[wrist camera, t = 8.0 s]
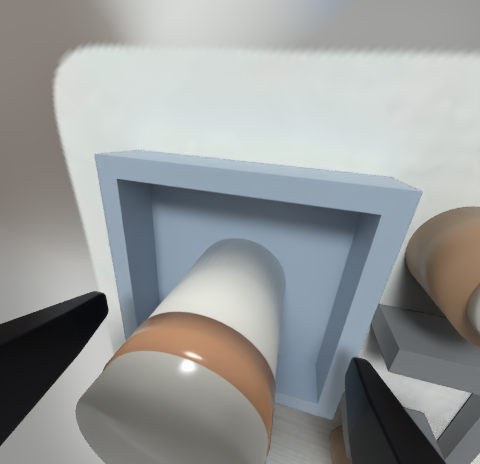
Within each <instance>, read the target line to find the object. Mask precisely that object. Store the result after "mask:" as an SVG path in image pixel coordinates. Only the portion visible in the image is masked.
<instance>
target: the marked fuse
mask: <svg viewBox="0 0 480 464" xmlns="http://www.w3.org/2000/svg"><path fill="white" fill-rule="evenodd" d="M285 287H286V278H285V273H284V271H283V268H282V266H281V264H280V262H279V261H278V259H277V258H276V257H275V256H274V255H273V254H272V253H271V252H270V251H269V250H268V249H267V248H265V247H264V246H262V245H260V244H258V243H256V242H253V241H251V240H247V239H242V238H229V239H224V240H220V241H218V242H215V243H214V244H212V245H211V246H210V247H208V248H207V249H206V250H205V252H204V253H203V254H202V255H201V256H200V258H199V259H198V260H197V261H196V262H195V263H194V265H193V266H192V267H191V268H190V269H189V271H188V272H187V273H186V274H185V275H184V276H183V278H182V279H181V280H180V281H179V282H178V283H177V285H176V286H175V287H174V288H173V289H172V291H171V292H170V293H169V294H168V295H167V296H166V298H165V299H164V300H163V301H162V302H161V304H160V305H159V306H158V307H157V308H156V309H155V311H154V312H153V313H152V314H151V315H150V316H149V318H148V319H146V320H145V321H144V322H143V323H141V324H140V326H139V327H138V328H137V329H136V330H135V331H134V333H133V334H132V335H131V336H130V337H129V338H128V340H127V341H126V342H125V343H124V344H123V345H122V347H121V348H120V349H119V350H118V351H117V352H116V353H115V355H114V356H113V357H112V358H111V359H110V360H109V362H108V363H107V364H106V366H105V367H104V369H103V372H102V373H101V374H100V375H99V377H98V378H97V379H96V380H95V381H94V383H93V384H92V385H91V386H90V387H89V388H88V390H87V391H86V392H85V393H84V395H83V396H82V397H81V398H80V399H79V401H78V403H77V406H76V419H77V423H78V426H79V428H80V431H81V433H82V435H83V436H84V438H85V440H86V441H87V443H88V444H89V445H90V447H91V448H92V449H93V450H94V452H95V453H96V454H97V455H98V456H99V457H100V458H101V459H102V460H103V461H104V462H105V463H106V464H266V457H267V455H268V452H269V449H270V441H271V432H272V422H273V412H274V403H275V393H276V385H275V376H276V367H277V358H278V349H279V340H280V331H281V323H282V314H283V305H284V296H285Z"/></svg>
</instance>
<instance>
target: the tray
mask: <svg viewBox="0 0 480 464" xmlns="http://www.w3.org/2000/svg"><path fill="white" fill-rule="evenodd" d="M95 160H96V166H97V172H98V178H99V184H100V190H101V196H102V202H103V208H104V214H105V220H106V226H107V231H108V237H109V243H110V249H111V255H112V261H113V267H114V273H115V279H116V285H117V291H118V297H119V303H120V309H121V314H122V320H123V326H124V332H125V338H126V341H127V340H128V338H129V337H130V336H131V335H132V334H133V333H134V331H135V330H136V329H137V328H138V327H139V326H140V324H141V323H143V322H144V321H145V320H146V319H148V318H149V316H150V315H151V314H152V313H153V312H154V311H155V309H156V308H157V307H158V306H159V305H160V304H161V302H162V301H163V300H164V299H165V298H166V296H167V295H168V294H169V293H170V292H171V291H172V289H173V288H174V287H175V286H176V285H177V283H178V282H179V281H180V280H181V279H182V278H183V276H184V275H185V274H186V273H187V272H188V271H189V269H190V268H191V267H192V266H193V265H194V263H195V262H196V261H197V260H198V259H199V258H200V256H201V255H202V254H203V253H204V252H205V250H206V249H207V248H208V247H210V246H211V245H212V244H214V243H215V242H218V241H220V240H224V239H229V238H242V239H247V240H251V241H253V242H256V243H258V244H260V245H262V246H264V247H265V248H267V249H268V250H269V251H270V252H271V253H272V254H273V255H274V256H275V257H276V258H277V259H278V261H279V262H280V264H281V266H282V268H283V271H284V273H285V278H286V287H285V296H284V305H283V314H282V323H281V331H280V340H279V349H278V358H277V367H276V376H275V385H276V393H275V403H277V404H280V405H283V406H287V407H290V408H293V409H296V410H300V411H303V412H306V413H309V414H313V415H316V416H319V417H322V418H326V419H329V420H333V417H334V415H335V412H336V410H337V407H338V405H339V402H340V400H341V397H342V395H343V392H344V390H345V374H346V371H347V369H348V366H349V364H350V361H351V359H352V358H353V357H358V354H359V352H360V349H361V347H362V344H363V342H364V339H365V337H366V334H367V331H368V329H369V326H370V324H371V321H372V319H373V316H374V314H375V311H376V309H377V306H378V304H379V301H380V299H381V296H382V294H383V291H384V289H385V286H386V283H387V281H388V278H389V276H390V273H391V271H392V268H393V266H394V263H395V261H396V258H397V256H398V253H399V251H400V248H401V246H402V243H403V241H404V238H405V235H406V233H407V230H408V228H409V225H410V223H411V220H412V218H413V215H414V213H415V210H416V208H417V205H418V203H419V200H420V198H421V195H422V193H423V191H420V190H418V189H416V188H414V187H412V186H410V185H407V184H405V183H403V182H401V181H399V180H396V179H394V178H392V177H385V176H376V175H367V174H357V173H348V172H339V171H329V170H320V169H311V168H301V167H292V166H282V165H273V164H264V163H254V162H245V161H236V160H226V159H217V158H208V157H198V156H189V155H180V154H170V153H161V152H151V151H142V150H134V151H122V152H110V153H98V154H95Z"/></svg>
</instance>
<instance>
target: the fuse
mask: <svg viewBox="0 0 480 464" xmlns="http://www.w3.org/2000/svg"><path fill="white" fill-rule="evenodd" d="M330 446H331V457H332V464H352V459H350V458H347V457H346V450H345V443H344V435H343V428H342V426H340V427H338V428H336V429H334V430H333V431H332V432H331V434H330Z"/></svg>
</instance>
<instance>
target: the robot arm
mask: <svg viewBox="0 0 480 464" xmlns="http://www.w3.org/2000/svg"><path fill="white" fill-rule="evenodd" d="M107 314H108V305H107V299H106V295H105V294H104V293H101V292H97V291H93V292H90V293H87V294H84V295H82V296H79V297H76V298H73V299H70V300H67V301H64V302H62V303H59V304H56V305H53V306H50V307H47V308H45V309H42V310H39V311H36V312H33V313H31V314H28V315H25V316H22V317H19V318H16V319H13V320H11V321H8V322H5V323H2V324H0V446H1V445H2V444H3V442H4V441H5V440H6V439H7V438H8V437H9V435H10V434H11V433H12V432H13V431H14V430H15V428H16V427H17V426H18V425H19V424H20V422H21V421H22V420H23V419H24V418H25V416H26V415H27V414H28V413H29V412H30V411H31V410H32V409H33V407H34V406H35V405H36V404H37V403H38V401H39V400H40V399H41V398H42V397H43V396H44V394H45V393H46V392H47V391H48V390H49V389H50V387H51V386H52V385H53V384H54V383H55V382H56V380H57V379H58V378H59V377H60V376H61V374H62V373H63V372H64V371H65V370H66V369H67V367H68V366H69V365H70V364H71V363H72V362H73V360H74V359H75V358H76V357H77V356H78V354H79V353H80V352H81V351H82V349H83V348H84V347H85V345H86V344H87V343H88V341H89V339H90V338H91V337H92V335H93V334H94V333H95V331H96V330H97V329H98V327H99V326H100V324H101V323H102V322H103V320H104V319H105V318H106V316H107ZM345 393H346V409H347V426H348V439H349V446H350V453H351V459H352V464H446V462H445V461H444V460H443V458H442V457H441V456H440V455H439V453H438V452H437V451H436V449H435V448H434V447H433V445H432V444H431V443H430V441H429V440H428V439H427V437H426V436H425V435H424V434H423V432H422V431H421V430H420V428H419V427H418V426H417V424H416V423H415V422H414V420H413V419H412V418H411V416H410V415H409V414H408V413H407V411H406V410H405V409H404V407H403V406H402V405H401V403H400V402H399V401H398V399H397V398H396V397H395V395H394V394H393V393H392V392H391V390H390V389H389V388H388V386H387V385H386V384H385V382H384V381H383V380H382V378H381V377H380V376H379V374H378V373H377V372H376V371H375V369H374V368H373V367H372V365H371V364H370V363H369V362H368V361H367V360H365V359H362V358H358V357H353V358H352V359H351V361H350V364H349V366H348V369H347V371H346V374H345Z"/></svg>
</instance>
